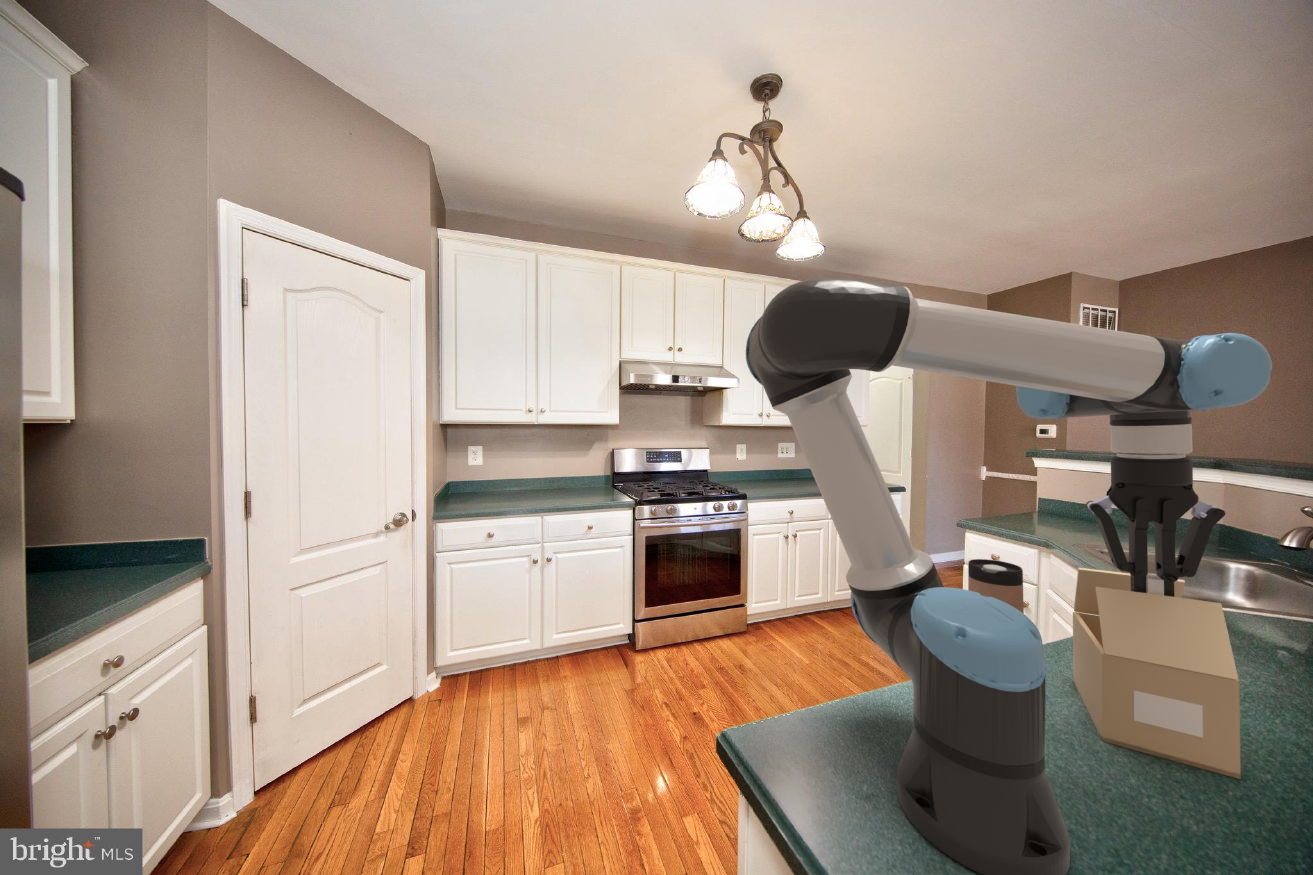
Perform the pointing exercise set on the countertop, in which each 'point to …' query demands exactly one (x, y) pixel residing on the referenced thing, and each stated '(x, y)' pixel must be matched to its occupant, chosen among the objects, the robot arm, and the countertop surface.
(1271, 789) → the countertop surface
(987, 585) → the travel mug
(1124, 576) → the far flap
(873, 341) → the robot arm
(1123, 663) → the carton
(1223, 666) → the near flap
